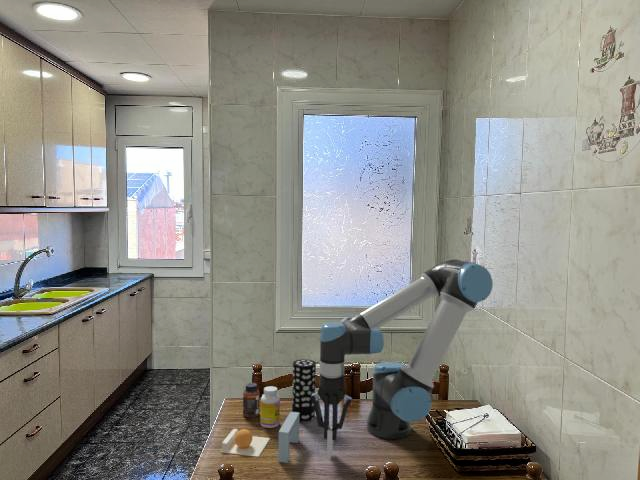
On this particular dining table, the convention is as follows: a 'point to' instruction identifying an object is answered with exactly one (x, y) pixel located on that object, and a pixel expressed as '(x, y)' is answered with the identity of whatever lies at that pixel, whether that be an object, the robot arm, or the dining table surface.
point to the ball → (243, 438)
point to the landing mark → (249, 447)
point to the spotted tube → (303, 388)
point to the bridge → (288, 436)
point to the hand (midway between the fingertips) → (330, 449)
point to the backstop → (229, 439)
